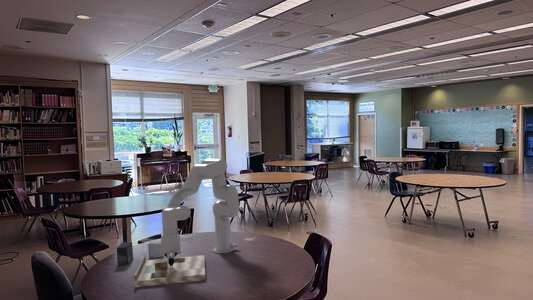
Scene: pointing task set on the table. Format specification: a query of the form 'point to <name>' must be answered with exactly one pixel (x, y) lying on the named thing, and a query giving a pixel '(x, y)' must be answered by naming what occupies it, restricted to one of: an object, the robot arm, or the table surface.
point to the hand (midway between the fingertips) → (171, 265)
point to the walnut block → (161, 264)
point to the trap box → (170, 271)
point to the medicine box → (154, 249)
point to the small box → (124, 253)
